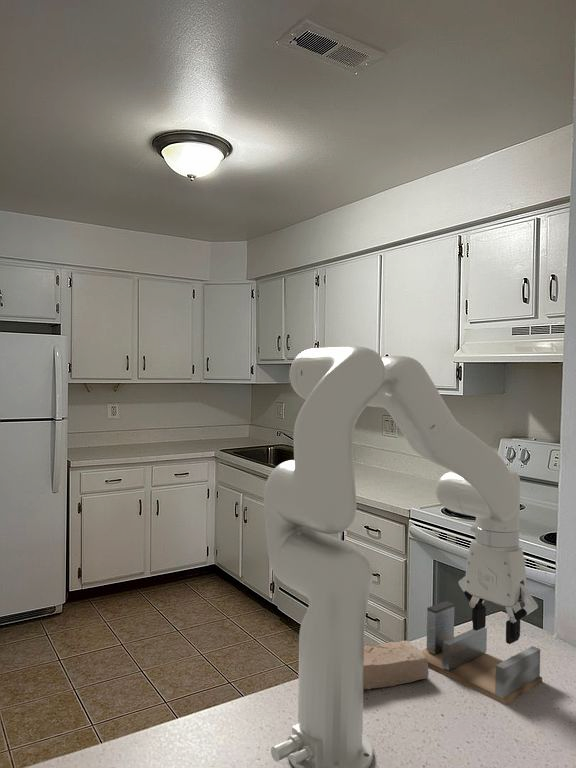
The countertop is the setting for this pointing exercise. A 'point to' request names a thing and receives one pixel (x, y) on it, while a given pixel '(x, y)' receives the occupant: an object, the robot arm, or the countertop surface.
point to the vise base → (494, 673)
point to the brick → (393, 664)
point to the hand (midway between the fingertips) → (495, 634)
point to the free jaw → (452, 637)
